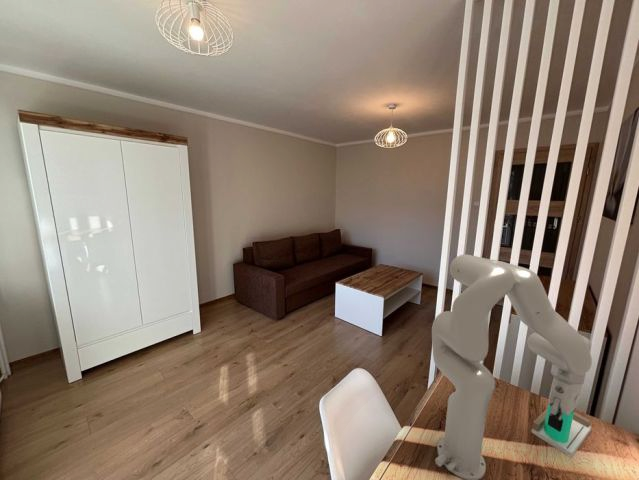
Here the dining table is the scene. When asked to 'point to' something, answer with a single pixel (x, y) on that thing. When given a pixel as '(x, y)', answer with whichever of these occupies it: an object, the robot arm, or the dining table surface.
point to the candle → (565, 430)
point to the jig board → (576, 435)
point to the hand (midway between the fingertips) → (557, 423)
